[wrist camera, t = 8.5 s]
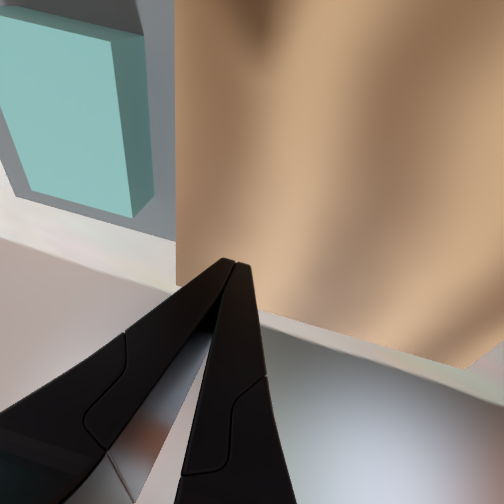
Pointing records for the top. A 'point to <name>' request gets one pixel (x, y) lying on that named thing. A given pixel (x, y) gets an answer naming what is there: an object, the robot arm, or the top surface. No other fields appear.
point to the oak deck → (348, 163)
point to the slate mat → (159, 99)
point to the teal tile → (77, 109)
